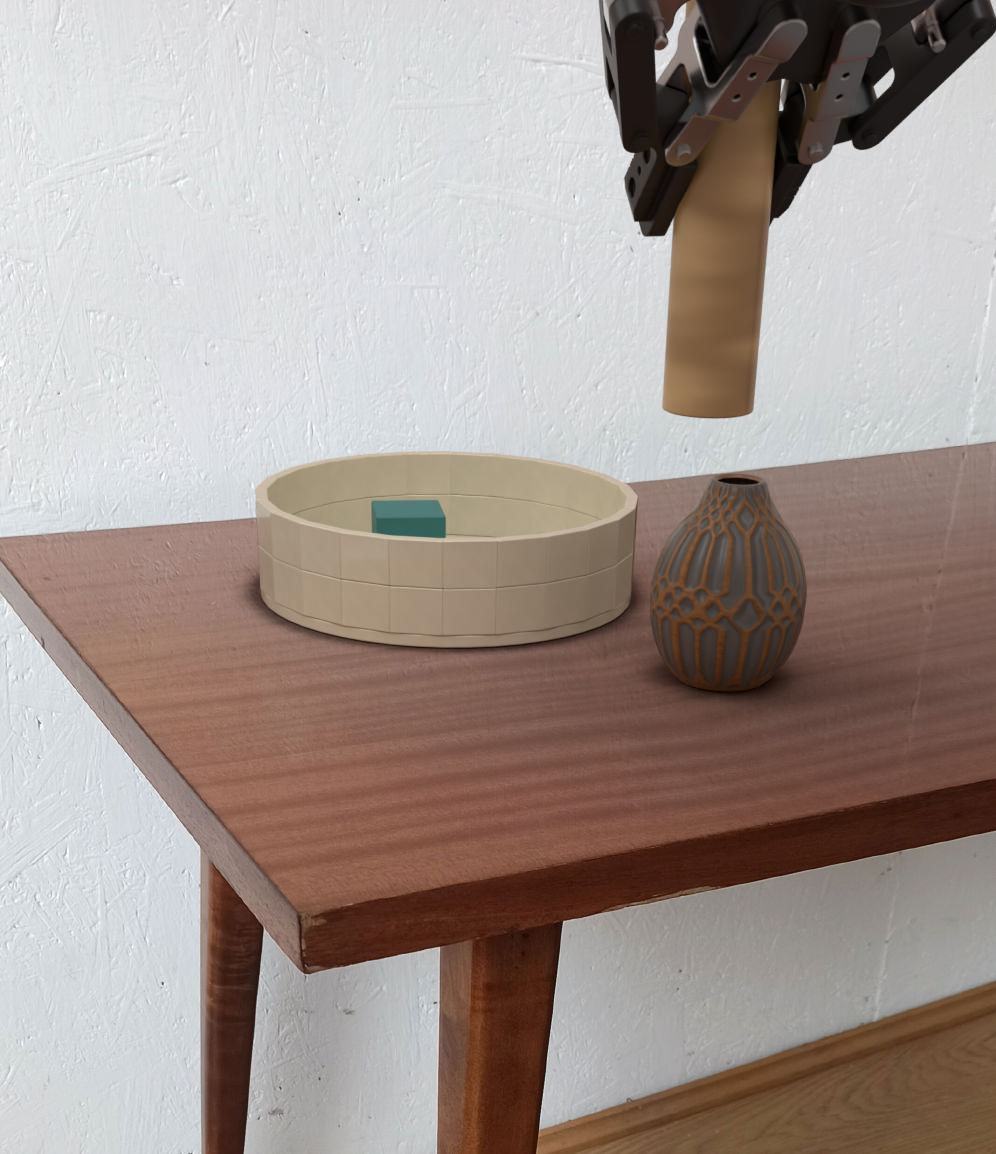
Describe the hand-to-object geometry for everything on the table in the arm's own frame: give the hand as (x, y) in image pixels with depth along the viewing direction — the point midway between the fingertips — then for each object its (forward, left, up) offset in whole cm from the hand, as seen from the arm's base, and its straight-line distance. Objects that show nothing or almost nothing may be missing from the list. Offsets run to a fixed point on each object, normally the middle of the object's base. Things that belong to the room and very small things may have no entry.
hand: (696, 212), depth 62 cm
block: (+14, -18, -19) cm, 30 cm away
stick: (-1, +2, -6) cm, 7 cm away
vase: (-2, -7, -20) cm, 21 cm away
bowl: (+12, -18, -20) cm, 29 cm away
